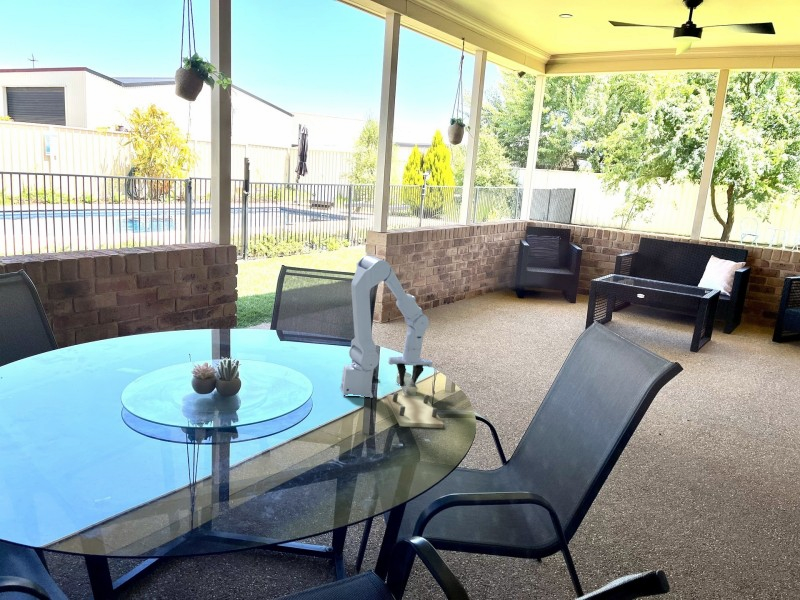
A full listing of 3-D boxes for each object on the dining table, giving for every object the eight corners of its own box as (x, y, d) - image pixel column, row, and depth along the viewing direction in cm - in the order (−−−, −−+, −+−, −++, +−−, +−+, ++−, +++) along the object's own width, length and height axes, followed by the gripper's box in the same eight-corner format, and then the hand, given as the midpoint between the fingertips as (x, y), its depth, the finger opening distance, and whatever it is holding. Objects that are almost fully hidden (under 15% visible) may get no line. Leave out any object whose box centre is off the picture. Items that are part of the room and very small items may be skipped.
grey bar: (403, 396, 188) (405, 386, 187) (394, 380, 201) (396, 371, 200) (417, 397, 189) (419, 387, 188) (408, 381, 202) (409, 372, 202)
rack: (399, 426, 166) (401, 414, 165) (386, 398, 185) (388, 387, 184) (442, 427, 169) (445, 416, 168) (425, 400, 188) (427, 389, 187)
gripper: (394, 349, 186) (388, 388, 189) (437, 352, 190) (430, 391, 192) (389, 342, 193) (384, 380, 196) (431, 345, 196) (425, 383, 199)
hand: (406, 385), depth 195 cm, fingers open, 3 cm apart
